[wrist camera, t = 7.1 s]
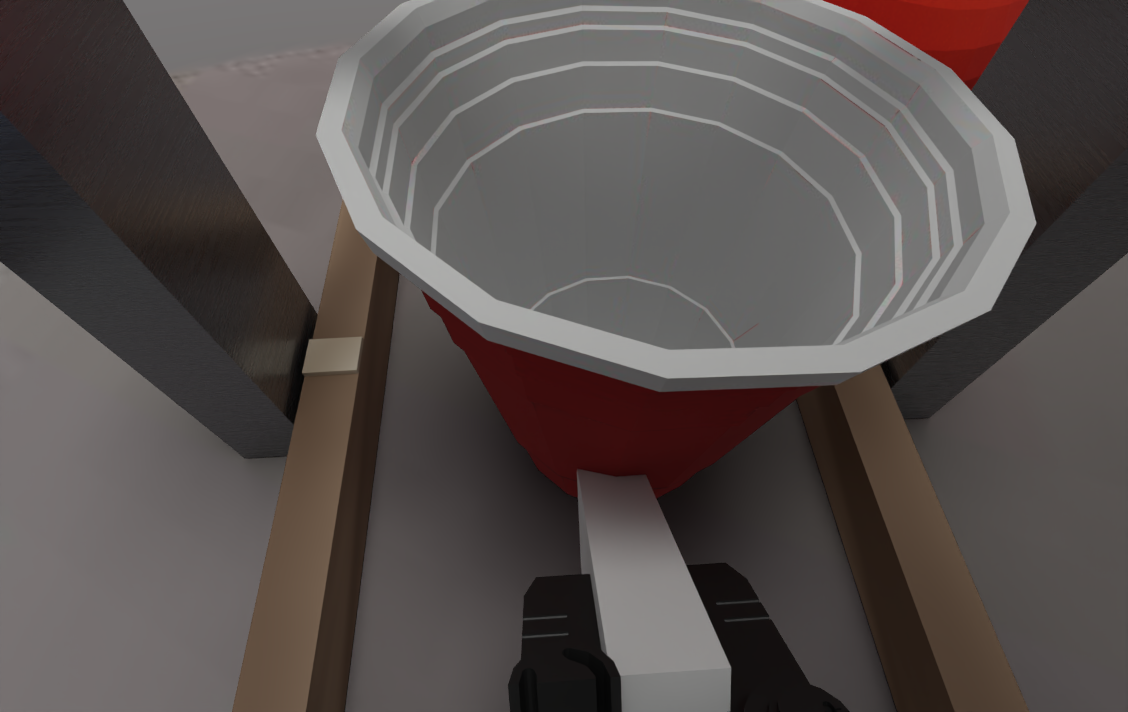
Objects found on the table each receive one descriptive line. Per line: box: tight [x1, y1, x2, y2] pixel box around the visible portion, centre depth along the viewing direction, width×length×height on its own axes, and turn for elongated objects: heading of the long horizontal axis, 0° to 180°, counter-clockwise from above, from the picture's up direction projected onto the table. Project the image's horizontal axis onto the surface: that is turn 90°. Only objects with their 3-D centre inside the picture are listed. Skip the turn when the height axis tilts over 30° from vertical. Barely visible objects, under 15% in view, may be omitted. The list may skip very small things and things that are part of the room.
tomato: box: [823, 0, 1029, 90], centre depth 23 cm, size 11×12×10 cm
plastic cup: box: [316, 0, 1036, 498], centre depth 14 cm, size 11×11×12 cm
